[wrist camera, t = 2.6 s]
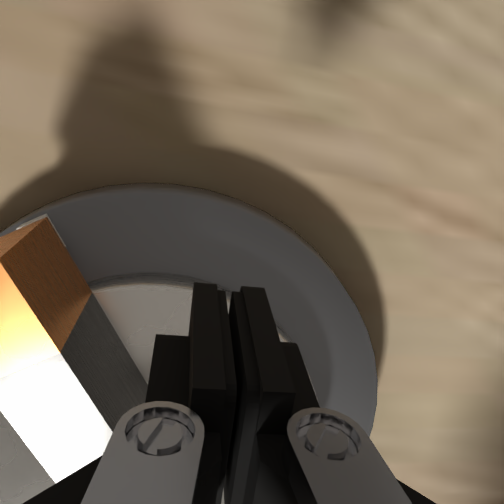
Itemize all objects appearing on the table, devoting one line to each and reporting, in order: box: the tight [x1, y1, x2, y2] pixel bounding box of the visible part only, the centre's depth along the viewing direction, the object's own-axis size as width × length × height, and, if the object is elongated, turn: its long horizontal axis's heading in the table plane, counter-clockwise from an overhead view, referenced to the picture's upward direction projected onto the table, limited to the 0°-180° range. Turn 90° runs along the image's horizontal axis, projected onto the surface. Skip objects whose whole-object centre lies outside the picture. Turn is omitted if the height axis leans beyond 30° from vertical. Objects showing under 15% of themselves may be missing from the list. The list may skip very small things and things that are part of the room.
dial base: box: [0, 183, 378, 437], centre depth 22 cm, size 20×20×3 cm
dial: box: [0, 217, 318, 504], centre depth 18 cm, size 17×14×6 cm
